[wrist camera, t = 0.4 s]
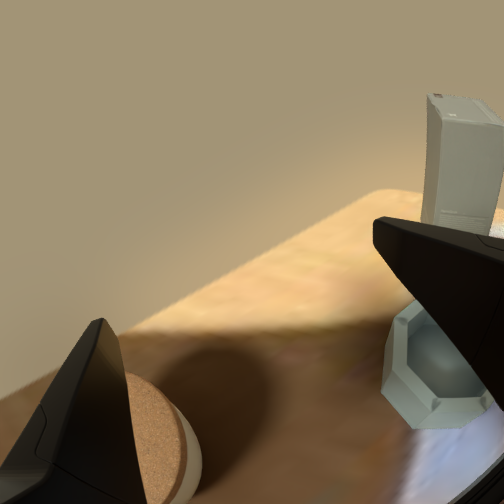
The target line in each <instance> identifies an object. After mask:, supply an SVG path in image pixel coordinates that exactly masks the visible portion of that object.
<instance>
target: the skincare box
mask: <svg viewBox="0 0 504 504" xmlns="http://www.w3.org/2000/svg"><path fill="white" fill-rule="evenodd" d="M426 152H427V153H426V169H425V182H424V193H423V203H422V211H421V223H425V224H431V225H436V226H441V227H446V228H451V229H456V230H461V231H466V232H471V233H474V234H480V235H485V236H488V235H489V232H490V228H491V224H492V221H493V217H494V213H495V209H496V205H497V201H498V196H499V192H500V187H501V181H502V177H503V171H504V121H503V120H502V119H501V118H500V117H499V116H497V114H496V113H495V112H494V111H493V110H492V109H491V108H490V107H489V106H488V105H487V104H486V103H485V102H484V101H483V100H480V99H473V98H466V97H458V96H451V95H441V94H432V93H428V94H427V151H426Z"/></svg>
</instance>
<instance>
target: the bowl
mask: <svg viewBox="0 0 504 504" xmlns="http://www.w3.org/2000/svg"><path fill="white" fill-rule="evenodd" d="M381 393H382V394H383V395H384V396H385V398H386V399H387V400H388V401H389V402H390V403H391V404H392V406H393V407H394V408H395V409H396V410H397V411H398V412H399V414H400V415H401V416H402V417H403V418H404V419H405V420H406V422H407V423H408V424H409V425H410V426H411V427H412V428H413V429H451V428H462V427H463V426H465V425H467V424H468V423H470V422H471V421H472V420H474V419H475V418H477V417H478V416H480V415H481V414H482V413H484V412H485V411H486V410H487V409H488V408H489V406H490V405H491V404H492V403H493V401H494V398H493V397H492V395H491V394H490V393H489V391H488V390H487V388H486V387H485V386H484V384H483V383H482V381H481V380H480V379H479V377H478V376H477V375H476V373H475V372H474V371H473V369H472V368H471V365H469V364H468V362H467V361H466V360H465V358H464V357H463V356H462V355H461V353H460V352H459V351H458V349H457V348H456V347H455V346H454V344H453V343H452V342H451V341H450V339H449V338H448V337H447V336H446V334H445V333H444V332H443V331H442V329H441V328H440V327H439V326H438V324H437V323H436V322H435V321H434V320H433V318H432V317H431V316H430V315H429V314H428V313H427V311H426V310H425V309H424V308H423V307H422V305H421V304H420V303H419V302H418V301H417V300H415V301H413V302H412V303H411V304H410V305H409V306H407V307H406V308H405V309H404V310H403V311H401V312H400V313H399V314H398V315H396V316H395V317H394V320H393V323H392V326H391V329H390V332H389V335H388V338H387V341H386V344H385V353H384V366H383V377H382V387H381Z"/></svg>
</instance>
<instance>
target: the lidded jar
mask: <svg viewBox="0 0 504 504" xmlns="http://www.w3.org/2000/svg"><path fill="white" fill-rule="evenodd" d="M125 376H126V381H127V386H128V394H129V403H130V411H131V418H132V426H133V432H134V439H135V445H136V451H137V456H138V462H139V467H140V472H141V477H142V482H143V486H144V491H145V495H146V499H147V503H148V504H187V503H188V501H189V500H190V499H191V498H192V496H193V495H194V493H195V491H196V489H197V487H198V484H199V481H200V478H201V472H202V455H201V449H200V445H199V443H198V440H197V437H196V435H195V433H194V431H193V429H192V427H191V426H190V424H189V422H188V421H187V420H186V418H185V417H184V416H183V415H182V413H181V412H180V411H179V410H178V409H177V408H176V407H175V406H174V405H173V404H172V403H171V402H170V401H169V399H168V398H167V397H166V396H165V395H164V394H163V393H162V392H161V391H160V390H159V389H158V388H157V387H155V386H154V385H153V384H151V383H150V382H149V381H147V380H146V379H144V378H142V377H140V376H138V375H136V374H133V373H129V372H126V371H125Z"/></svg>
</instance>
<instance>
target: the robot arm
mask: <svg viewBox="0 0 504 504" xmlns="http://www.w3.org/2000/svg"><path fill="white" fill-rule="evenodd" d="M373 244H374V247H375V248H376V250H377V251H378V252H379V254H380V255H381V256H382V258H383V259H384V260H385V262H386V263H387V264H388V266H389V267H390V268H391V270H392V271H393V273H394V274H395V275H396V277H397V278H398V279H399V280H400V281H401V283H402V284H403V285H404V286H405V287H406V288H407V289H408V291H409V292H410V293H411V294H412V295H413V296H414V297H415V299H416V300H417V301H418V302H419V303H420V304H421V305H422V307H423V308H424V309H425V310H426V311H427V313H428V314H429V315H430V316H431V317H432V318H433V320H434V321H435V322H436V323H437V324H438V326H439V327H440V328H441V329H442V331H443V332H444V333H445V334H446V336H447V337H448V338H449V339H450V341H451V342H452V343H453V344H454V346H455V347H456V348H457V349H458V351H459V352H460V353H461V355H462V356H463V357H464V358H465V360H466V361H467V362H468V364H469V365H471V368H472V369H473V371H474V372H475V373H476V375H477V376H478V377H479V379H480V380H481V381H482V383H483V384H484V386H485V387H486V388H487V390H488V391H489V393H490V394H491V395H492V397H493V398H494V400H495V401H496V403H497V404H498V406H499V407H500V408H501V410H502V411H504V239H500V238H495V237H490V236H485V235H480V234H474V233H471V232H466V231H461V230H456V229H451V228H446V227H441V226H436V225H431V224H425V223H420V222H414V221H409V220H403V219H397V218H391V217H385V216H384V217H381V218H378V219H375V220H374V222H373ZM503 499H504V453H503V454H502V455H501V456H500V457H499V458H498V459H497V460H496V461H495V462H494V463H493V464H492V465H491V466H490V467H489V468H488V469H487V470H486V471H485V472H484V473H483V474H482V475H481V476H480V477H479V478H477V479H476V480H475V481H474V482H473V483H472V484H471V485H470V486H468V487H467V488H466V489H465V490H464V491H463V492H461V493H460V494H459V495H458V496H456V497H455V498H454V499H453V500H451V501H450V502H449V503H448V504H499V503H500V502H501V501H502V500H503ZM0 504H148V503H147V499H146V495H145V491H144V486H143V482H142V477H141V472H140V467H139V462H138V456H137V451H136V445H135V439H134V432H133V426H132V418H131V411H130V403H129V394H128V386H127V381H126V376H125V371H124V366H123V361H122V356H121V350H120V345H119V341H118V338H117V336H116V335H115V333H114V331H113V330H112V328H111V327H110V325H109V324H108V322H107V321H106V319H104V318H99V319H96V320H93V321H91V323H90V324H89V326H88V327H87V329H86V330H85V331H84V333H83V335H82V336H81V337H80V339H79V340H78V342H77V343H76V345H75V347H74V348H73V349H72V351H71V353H70V354H69V356H68V357H67V359H66V360H65V362H64V363H63V365H62V367H61V368H60V370H59V371H58V373H57V374H56V376H55V378H54V379H53V381H52V383H51V384H50V386H49V388H48V389H47V391H46V393H45V394H44V396H43V398H42V399H41V401H40V404H38V406H37V408H36V410H35V411H34V413H33V415H32V417H31V418H30V420H29V422H28V423H27V425H26V427H25V428H24V430H23V431H22V433H21V435H20V436H19V438H18V439H17V441H16V442H15V444H14V446H13V447H12V449H11V450H10V452H9V454H8V455H7V457H6V458H5V460H4V462H3V463H2V465H1V467H0Z"/></svg>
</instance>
